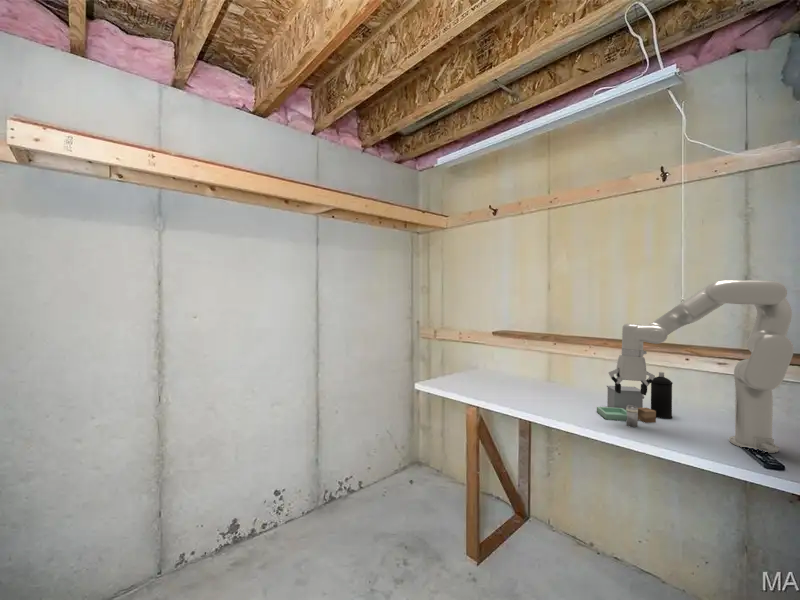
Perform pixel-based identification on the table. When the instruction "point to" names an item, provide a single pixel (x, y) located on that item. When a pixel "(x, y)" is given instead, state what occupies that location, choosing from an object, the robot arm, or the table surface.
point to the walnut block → (646, 415)
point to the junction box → (624, 397)
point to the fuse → (632, 415)
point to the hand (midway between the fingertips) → (630, 393)
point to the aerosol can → (661, 396)
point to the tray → (612, 413)
